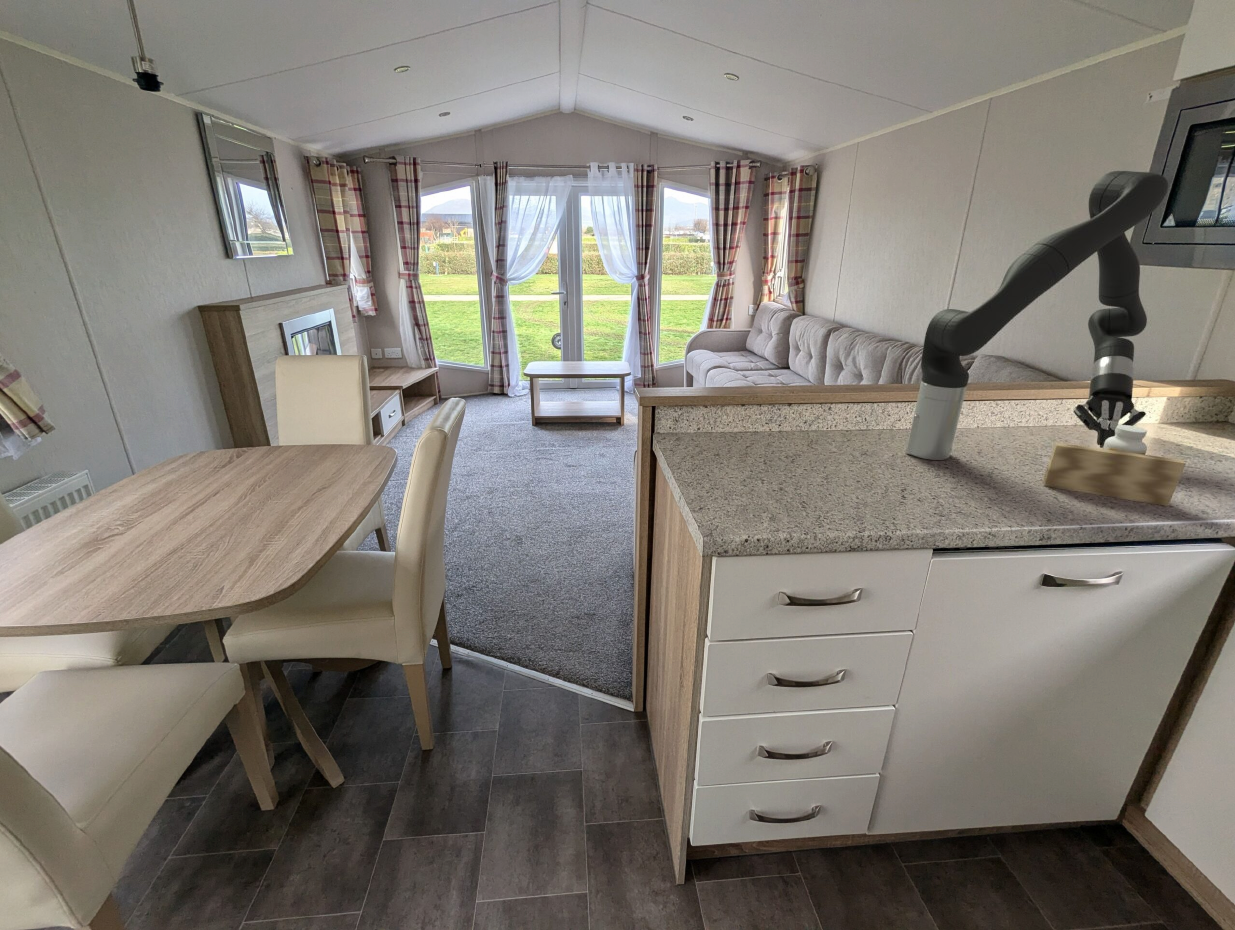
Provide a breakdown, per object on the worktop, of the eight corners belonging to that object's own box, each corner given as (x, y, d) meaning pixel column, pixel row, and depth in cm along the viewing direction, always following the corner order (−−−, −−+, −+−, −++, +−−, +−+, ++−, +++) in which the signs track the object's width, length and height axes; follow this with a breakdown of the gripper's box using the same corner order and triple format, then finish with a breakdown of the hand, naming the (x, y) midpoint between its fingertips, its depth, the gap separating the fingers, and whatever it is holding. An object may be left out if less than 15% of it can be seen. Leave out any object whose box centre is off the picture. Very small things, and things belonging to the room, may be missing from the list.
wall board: (1043, 485, 119) (1056, 445, 116) (1039, 474, 125) (1052, 436, 121) (1168, 506, 111) (1186, 463, 107) (1158, 493, 116) (1174, 452, 112)
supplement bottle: (1138, 495, 115) (1161, 435, 110) (1100, 491, 117) (1121, 432, 112) (1120, 482, 121) (1141, 424, 116) (1084, 478, 123) (1104, 422, 118)
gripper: (1081, 368, 132) (1074, 434, 126) (1155, 375, 126) (1151, 444, 120) (1070, 385, 138) (1063, 449, 133) (1141, 392, 132) (1136, 459, 127)
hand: (1105, 446), depth 127 cm, fingers closed
